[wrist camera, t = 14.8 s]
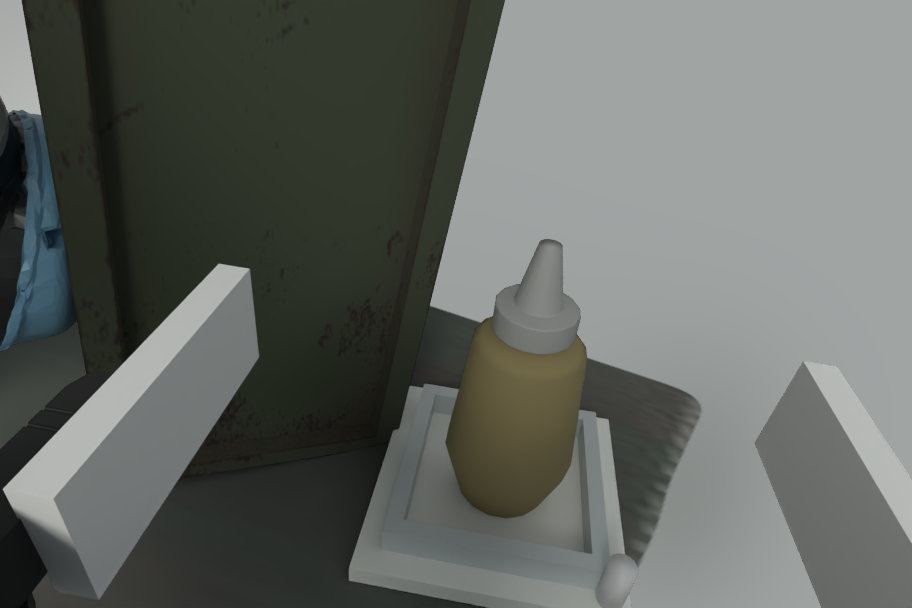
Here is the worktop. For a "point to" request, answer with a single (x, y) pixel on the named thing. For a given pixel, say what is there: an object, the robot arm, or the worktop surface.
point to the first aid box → (264, 189)
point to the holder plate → (492, 524)
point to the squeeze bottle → (520, 394)
